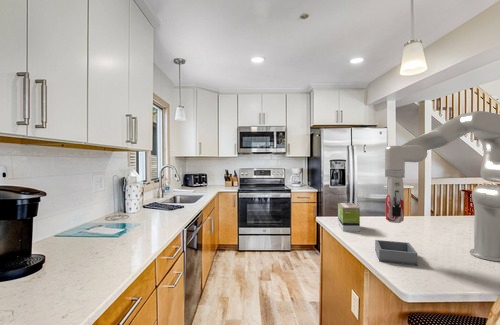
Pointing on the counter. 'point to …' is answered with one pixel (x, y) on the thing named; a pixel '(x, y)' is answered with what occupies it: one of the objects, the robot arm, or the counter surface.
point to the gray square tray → (395, 252)
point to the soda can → (389, 211)
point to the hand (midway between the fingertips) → (394, 214)
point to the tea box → (349, 217)
